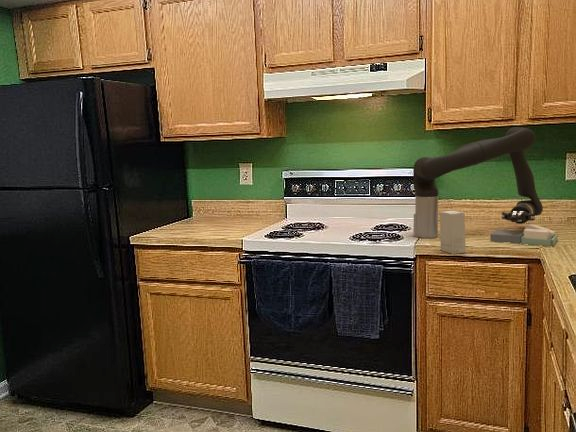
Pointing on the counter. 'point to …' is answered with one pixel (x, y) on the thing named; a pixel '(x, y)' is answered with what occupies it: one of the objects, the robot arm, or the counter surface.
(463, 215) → the skincare box
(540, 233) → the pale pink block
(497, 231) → the board
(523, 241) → the tray
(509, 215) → the robot arm
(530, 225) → the beige rectangular block
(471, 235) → the counter surface
